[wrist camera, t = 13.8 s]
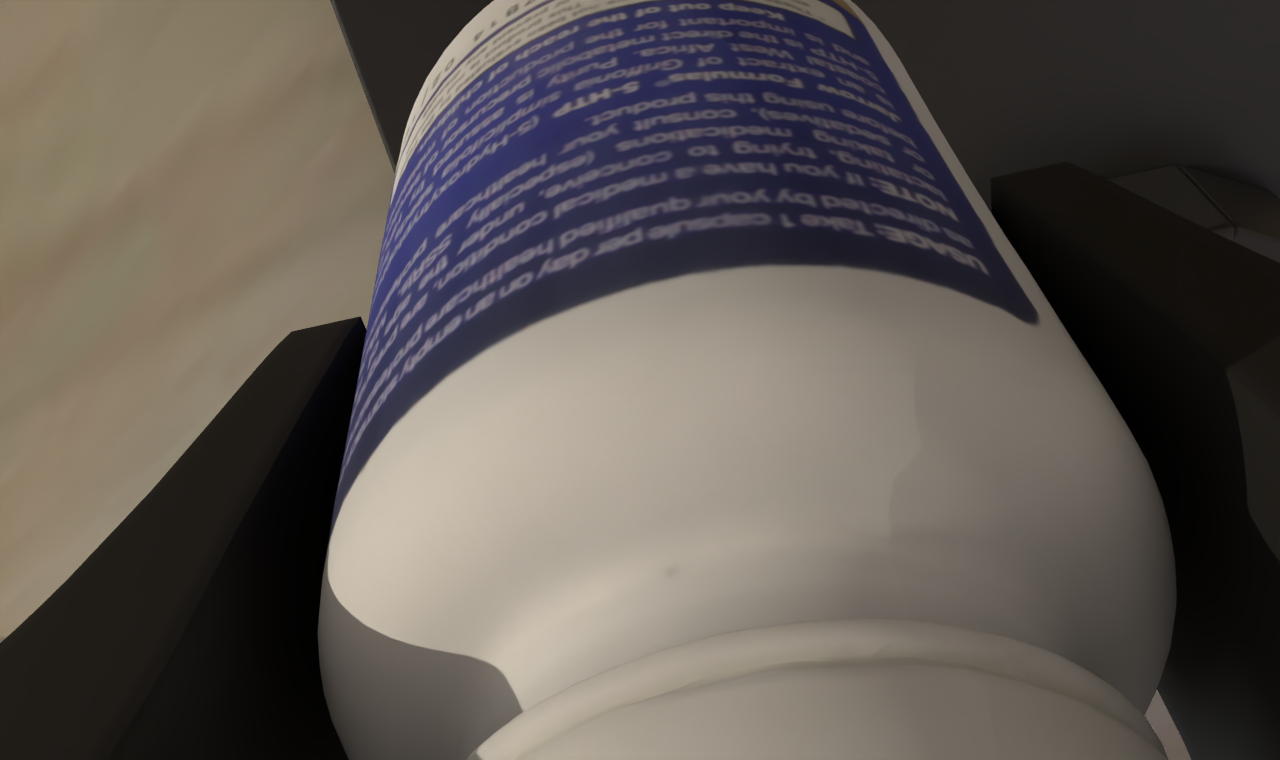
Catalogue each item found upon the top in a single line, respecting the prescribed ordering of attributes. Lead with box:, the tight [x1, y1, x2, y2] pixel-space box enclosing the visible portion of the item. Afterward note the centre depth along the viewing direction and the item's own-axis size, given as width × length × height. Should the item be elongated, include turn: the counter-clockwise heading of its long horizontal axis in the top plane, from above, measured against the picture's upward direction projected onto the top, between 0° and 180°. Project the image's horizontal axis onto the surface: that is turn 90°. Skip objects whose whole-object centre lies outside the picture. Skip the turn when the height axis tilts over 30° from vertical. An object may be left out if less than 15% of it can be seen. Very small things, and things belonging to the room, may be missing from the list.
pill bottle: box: [318, 0, 1177, 760], centre depth 9 cm, size 5×5×9 cm
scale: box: [330, 0, 1280, 263], centre depth 16 cm, size 13×12×3 cm
